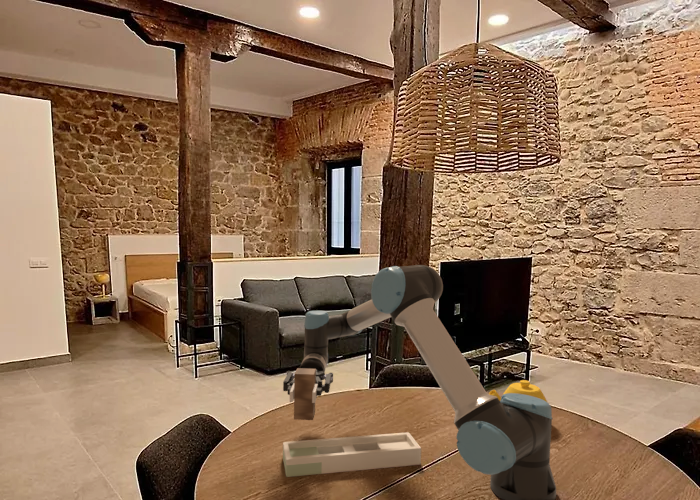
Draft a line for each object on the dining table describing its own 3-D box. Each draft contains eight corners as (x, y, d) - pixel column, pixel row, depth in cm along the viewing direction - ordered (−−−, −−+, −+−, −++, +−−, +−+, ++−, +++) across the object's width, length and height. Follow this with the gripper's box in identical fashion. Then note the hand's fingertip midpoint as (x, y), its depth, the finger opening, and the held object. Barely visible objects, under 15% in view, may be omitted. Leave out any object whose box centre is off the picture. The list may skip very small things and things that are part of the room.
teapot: (498, 433, 151) (499, 390, 151) (478, 413, 167) (480, 374, 166) (558, 431, 154) (560, 388, 153) (534, 412, 169) (535, 373, 169)
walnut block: (315, 412, 131) (315, 368, 130) (313, 420, 126) (313, 374, 125) (296, 411, 131) (297, 368, 130) (293, 419, 126) (294, 373, 125)
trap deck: (408, 447, 140) (408, 432, 140) (420, 464, 131) (421, 448, 130) (282, 458, 133) (283, 442, 132) (286, 476, 123) (286, 459, 123)
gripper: (342, 382, 146) (337, 413, 123) (282, 380, 147) (266, 410, 123) (342, 358, 146) (338, 383, 122) (282, 356, 146) (267, 381, 123)
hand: (302, 397), depth 123 cm, fingers closed on walnut block, 5 cm apart
